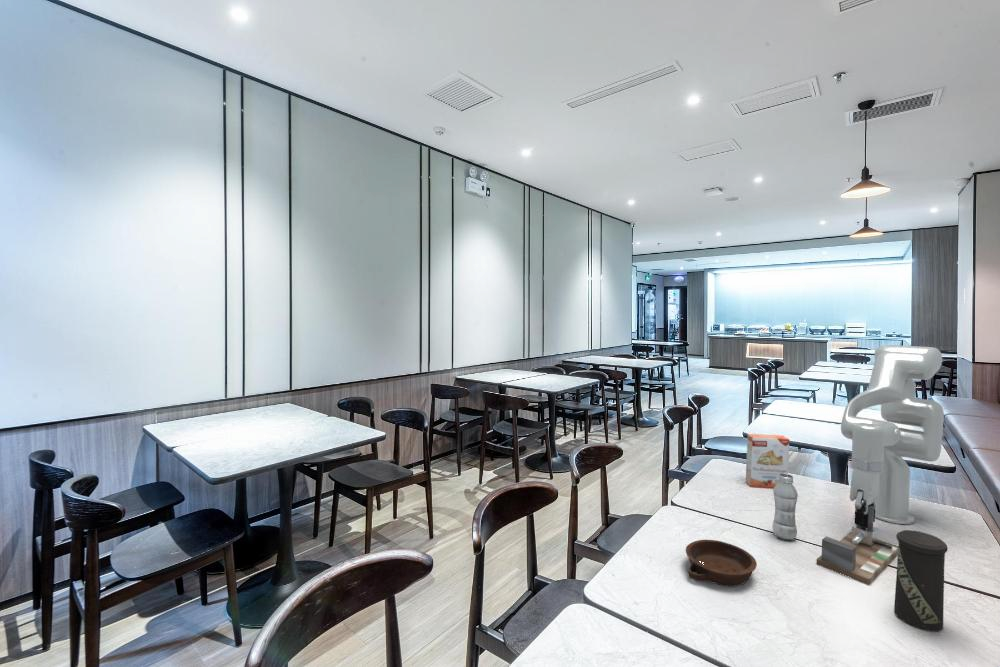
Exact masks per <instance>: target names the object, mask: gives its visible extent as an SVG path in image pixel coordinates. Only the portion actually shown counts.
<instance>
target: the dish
mask: <svg viewBox="0 0 1000 667" xmlns="http://www.w3.org/2000/svg"><path fill="white" fill-rule="evenodd" d="M685 553H686V554H685V555H686V556H687V557H688V561H689V563H690V565H689V566H688V568H687V569H688V570H687V575H688V577H689V578H691V579H692V580H694V581H699V582H702V581H703V582H704V581H707V582H711V583H713V582H714V584H716V583H717V584H716V585H720V584H721V585H720V586H725V585H728V587H734V586H735V585H736V586H740V585H743V584H745V583H747V582H748V581H749V579H750V578H751V577H752V574H753V572H755V570H756V568H757V560H756V559H755V557H754V556H753V555H752V554H750V553H749V552H748V551H747V550H745V549H743V548H741V547H739V546H736V545H734V544H731V543H728V542H724V541H721V540H714V539H699V540H695V541H692V542H690V543H689V544H687V546H685ZM699 561H701V563H700V562H699ZM702 562H704V563H703V564H704V565H703V564H702Z"/></svg>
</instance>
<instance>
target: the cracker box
mask: <svg viewBox="0 0 1000 667" xmlns="http://www.w3.org/2000/svg"><path fill="white" fill-rule="evenodd" d="M746 436H747V440H746V442H747V443H746V462H745V464H746V465H745V483H747V485H748V486H750V488H763V489H764V488H765V489H766V488H767V489H774V487H775V486H776V485H777V484H778V483H779V482H780V481H779V474H788V473H789V456H790V439H789V438H788V437H786V436H785V435H783V434H782V435H780V434H778V435H777V434H761V433H747V435H746ZM788 475H789V474H788Z"/></svg>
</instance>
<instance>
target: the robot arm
mask: <svg viewBox="0 0 1000 667" xmlns="http://www.w3.org/2000/svg"><path fill="white" fill-rule="evenodd" d="M942 364H943V356H942V352H941V351H940V350H939V349H938V348H936V347H933V346H931V347H930V346H916V345H915V346H914V345H911V346H910V345H898V344H897V345H896V344H895V345H891V344H889V345H887V344H886V345H881V346H878V347H876V349H875V350H874V363H873V367H872V371H871V376H870V379H869V384H868V388H867V389H866V390H863V392H860V393H858V394H857V395H855V396H854V397H853V398H851V399H850V400H849V402H848V403H847V404H846V406H845V409H844V412H843V415H842V418H841V425H840V432H841V434H842V435H843V437H844V438H847V439H848V440H852V442H851V463H850V464H851V466H850V467H851V468H852V469H853V470H852V474H851V481H850V491H849V500H850V501H851V502H854V524H856V525H859V526H862V527H866V528H867V527H868V518H869V515H868V514H867V512H868V505H870V504H871V505H873V506H874V518H873V523H875V521H876V519H878V520H880V521H884V522H886V523H887V522H888V523H893V524H898V525H911V524H914V523H915V517H914V516H913V515H912V514H910V513H909V509H910V508H909V507H910V506H909V505H910V502H909V501H910V489H911V488H910V486H911V469H910V467H909V465H908V464H907V462H906V461H905V460H904V458H908V459H913V460H918V461H925V462H935V461H937V460H939V459H940V456H941V451H942V444H943V442H942V440H943V430H944V423H945V422H944V419H945V418H944V409H943V406H942V405H941V404H940V403H939V402H938V401H935V400H931V399H923V398H916V388H917V384H916V382H915V380H924V381H925V380H927V381H928V380H930V379H932V378H933V377H934V376H935V375H936V373H938V371H939V370H940V369H941V367H942ZM874 406H875V407H876V406H880V416H881V418H882V419H883V420H880V419H874V418H870V417H869V418H868V417H860V416H858V414H859V413H860V412H862V411H863V410H865V409H867V408H871V407H874ZM897 424H899V425H905V426H909V427H911V426H912V427H916V428H917V427H918V428H920V429H922V430H923V431H920V430H916V429H909V428H903V427H899V426H898V425H897ZM862 502H864V503H862ZM862 505H865V509H864V507H862Z"/></svg>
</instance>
